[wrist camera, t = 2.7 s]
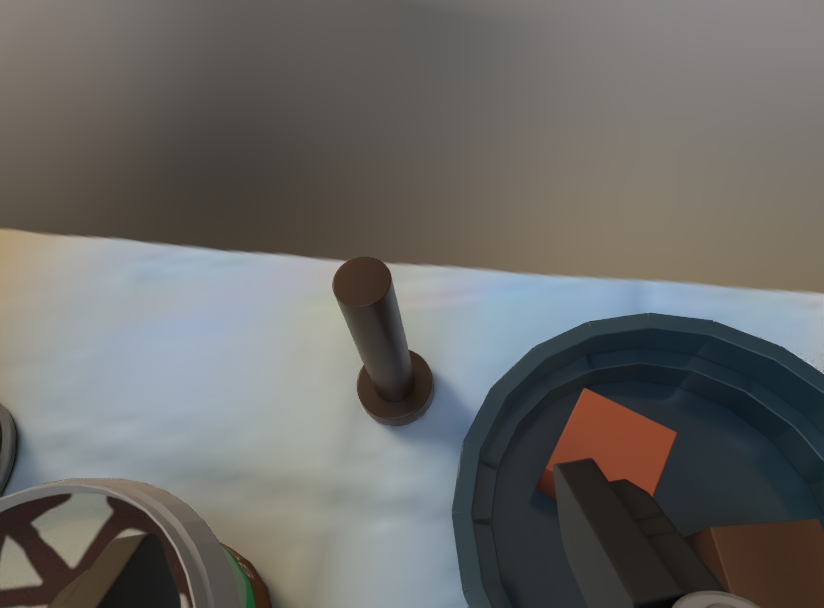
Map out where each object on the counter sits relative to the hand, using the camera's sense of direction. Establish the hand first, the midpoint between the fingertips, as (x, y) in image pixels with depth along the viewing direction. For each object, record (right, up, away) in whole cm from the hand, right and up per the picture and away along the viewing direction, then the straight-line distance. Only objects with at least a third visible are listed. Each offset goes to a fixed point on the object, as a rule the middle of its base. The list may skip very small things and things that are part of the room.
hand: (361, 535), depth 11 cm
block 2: (+15, -7, +12) cm, 20 cm away
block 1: (+9, -3, +15) cm, 18 cm away
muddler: (0, 0, +18) cm, 18 cm away
